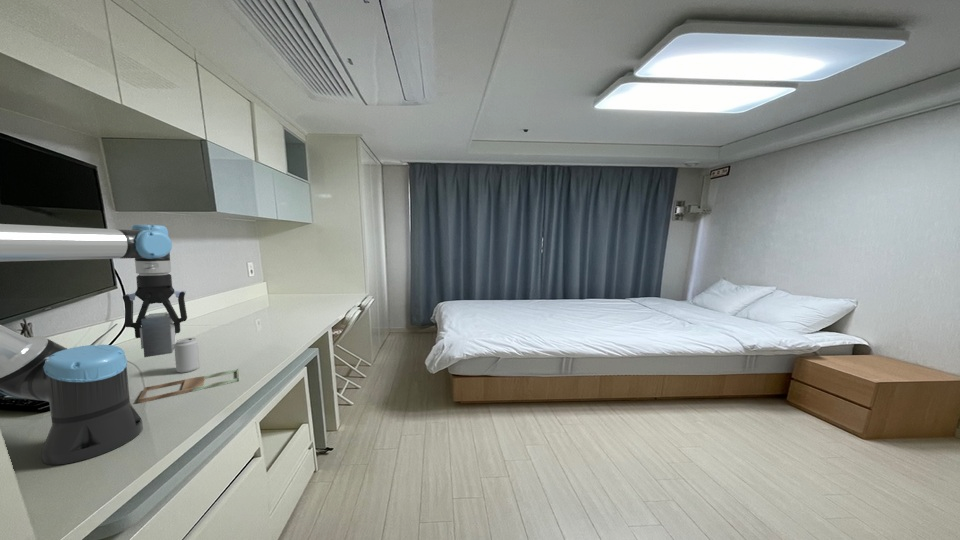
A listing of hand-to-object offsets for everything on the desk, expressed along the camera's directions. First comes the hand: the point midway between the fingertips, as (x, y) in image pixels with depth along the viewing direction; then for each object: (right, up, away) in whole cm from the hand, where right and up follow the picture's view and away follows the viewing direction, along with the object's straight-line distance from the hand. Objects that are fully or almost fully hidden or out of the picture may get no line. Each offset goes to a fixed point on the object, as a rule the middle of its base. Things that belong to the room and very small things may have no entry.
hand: (159, 345), depth 96 cm
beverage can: (-8, -14, +18) cm, 24 cm away
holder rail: (+5, -16, +6) cm, 17 cm away
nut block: (0, -2, 0) cm, 2 cm away
